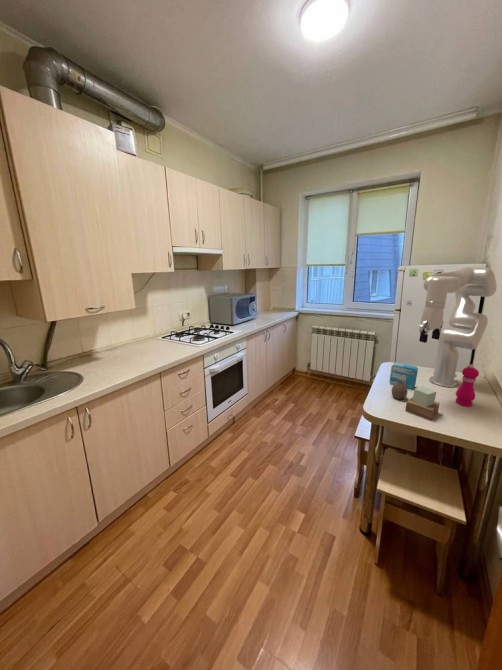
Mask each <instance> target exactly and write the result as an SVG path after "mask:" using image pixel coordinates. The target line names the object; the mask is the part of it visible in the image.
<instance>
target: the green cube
mask: <svg viewBox="0 0 502 670" xmlns="http://www.w3.org/2000/svg"><path fill="white" fill-rule="evenodd" d="M413 390H414V391H413V396H412V397H413V401H414V402H416V403H418V404H420V405H423V406H425V407H427V406H430V405H432V404H434V402H436V397H437V391H436V390H434V389H431V388H429V387H426V386H422V385H421V386H420V387H419V386H418V387H416V388H414V389H413Z"/></svg>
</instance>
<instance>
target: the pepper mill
mask: <svg viewBox="0 0 502 670" xmlns="http://www.w3.org/2000/svg"><path fill="white" fill-rule="evenodd" d="M461 373H462V378H461V379H462V383H461V385H459V387H458V388H457V390H456V392H455V395H456V398H455V403H456V404H458V405H460V406H462V407H466V408H467V407H469V408H470V407H472V406H473V401H474V400H475V399H476V393H475V390H474V384H475V383H476V382H477V381H476V380H477V378H478V377H479V375H480V372H479V370H478V369H477V368H475V365H474V364H472V363H471V364H469V365H468V366H467V367H464V368H463V369H462V371H461Z"/></svg>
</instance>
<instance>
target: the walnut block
mask: <svg viewBox="0 0 502 670" xmlns="http://www.w3.org/2000/svg"><path fill="white" fill-rule="evenodd" d="M405 403H406V404H405V410H404V411H405V413H406V412H407V413H409V414H412V415H414V416H417V417H420V418H422V419H425V420H427V421H431V420H432V419H434V417H435V416H436V415H437V414H438V413H439V407H440V402H437V401H435V402H434V404H432V405H430V406H427V407H425V406H423V405H420V404H418V403H416V402H414V401H413V396H412V397H411V398H410V399H408V400H407V401H406V402H405Z"/></svg>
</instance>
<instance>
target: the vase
mask: <svg viewBox="0 0 502 670" xmlns="http://www.w3.org/2000/svg"><path fill="white" fill-rule="evenodd" d="M391 395H392V397H393V398H394V399H396V400H404V399H406V398H407V395H408V389H407V387H406V386H405V384H404V382H403V381H398V382H397V383H396V384H395V385H392V387H391Z"/></svg>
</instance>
